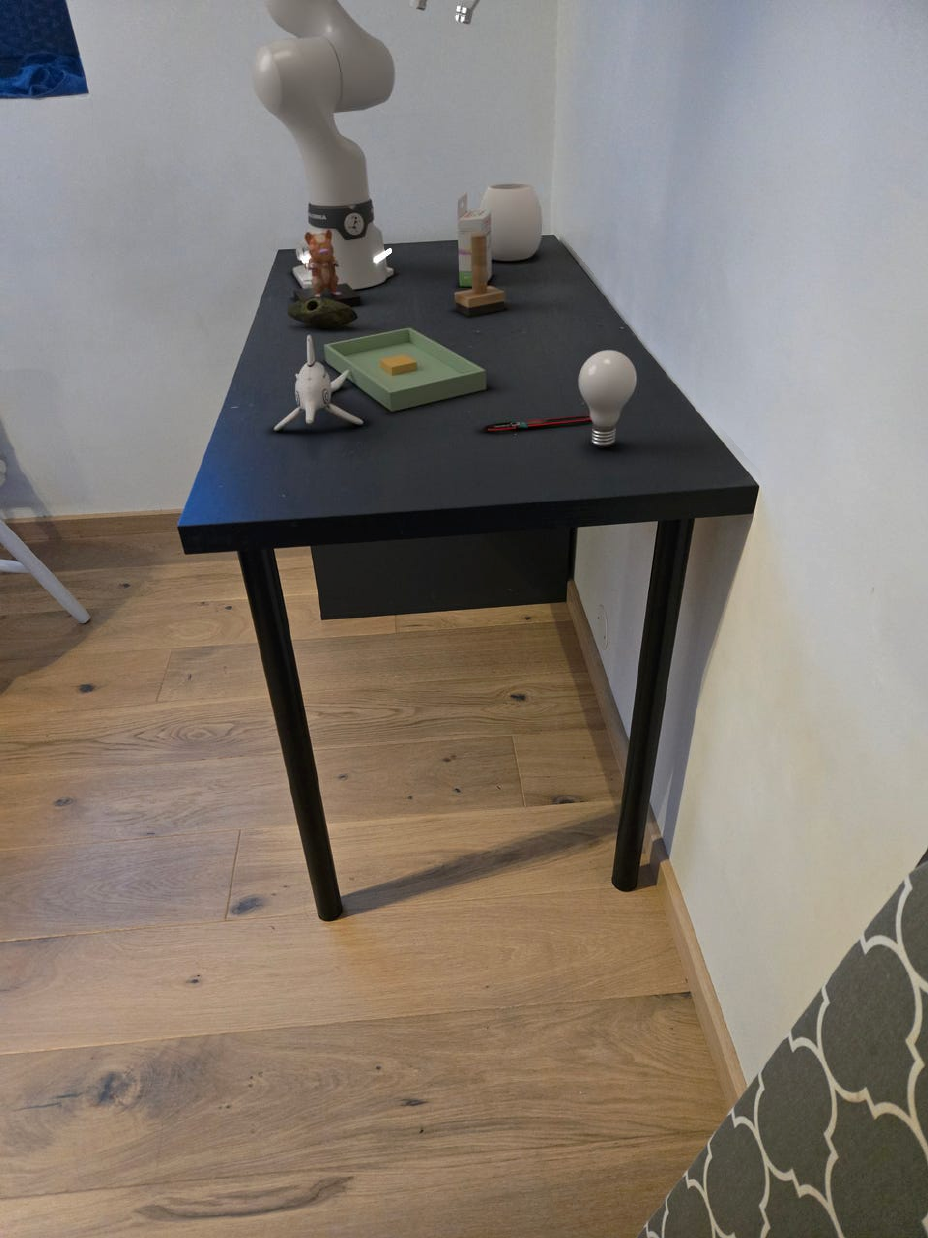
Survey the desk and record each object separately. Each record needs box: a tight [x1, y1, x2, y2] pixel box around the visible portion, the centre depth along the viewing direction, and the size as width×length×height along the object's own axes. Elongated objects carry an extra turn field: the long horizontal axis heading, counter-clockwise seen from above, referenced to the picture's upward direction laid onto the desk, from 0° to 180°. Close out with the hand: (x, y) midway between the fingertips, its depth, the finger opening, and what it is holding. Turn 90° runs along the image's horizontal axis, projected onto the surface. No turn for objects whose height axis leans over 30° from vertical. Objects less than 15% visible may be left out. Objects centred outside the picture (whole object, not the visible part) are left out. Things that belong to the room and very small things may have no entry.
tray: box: [323, 327, 487, 413], centre depth 116 cm, size 23×14×3 cm, turn 29°
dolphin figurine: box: [273, 334, 364, 432], centre depth 102 cm, size 11×25×11 cm, turn 6°
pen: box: [481, 414, 591, 432], centre depth 100 cm, size 2×14×1 cm, turn 100°
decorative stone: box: [287, 296, 359, 330], centre depth 135 cm, size 11×8×5 cm
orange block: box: [380, 354, 417, 375], centre depth 116 cm, size 4×4×1 cm
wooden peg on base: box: [454, 233, 506, 318], centre depth 137 cm, size 5×7×12 cm, turn 119°
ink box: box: [456, 192, 493, 288], centre depth 152 cm, size 9×5×15 cm, turn 168°
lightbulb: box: [577, 349, 638, 449], centre depth 92 cm, size 6×6×11 cm
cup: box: [478, 181, 543, 262], centre depth 166 cm, size 13×13×14 cm
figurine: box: [292, 230, 361, 308], centre depth 145 cm, size 10×10×12 cm
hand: (440, 15), depth 112 cm, fingers open, 8 cm apart
